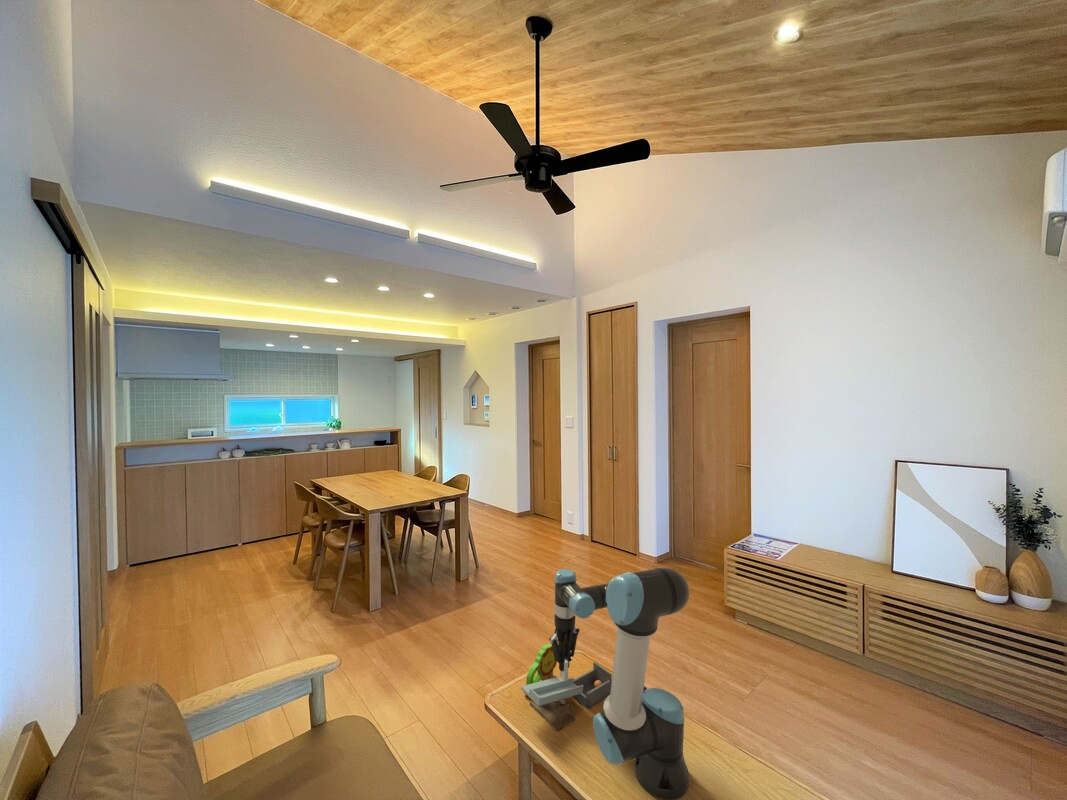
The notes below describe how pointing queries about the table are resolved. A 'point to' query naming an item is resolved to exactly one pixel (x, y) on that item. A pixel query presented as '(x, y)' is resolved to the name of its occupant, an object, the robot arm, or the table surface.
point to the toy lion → (542, 665)
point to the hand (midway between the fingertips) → (563, 677)
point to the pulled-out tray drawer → (591, 693)
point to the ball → (597, 683)
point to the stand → (554, 714)
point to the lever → (552, 690)
